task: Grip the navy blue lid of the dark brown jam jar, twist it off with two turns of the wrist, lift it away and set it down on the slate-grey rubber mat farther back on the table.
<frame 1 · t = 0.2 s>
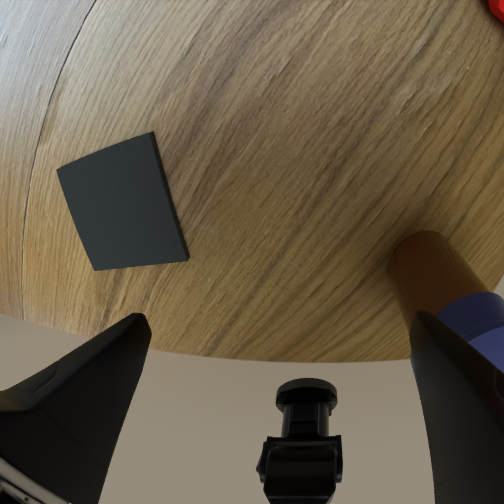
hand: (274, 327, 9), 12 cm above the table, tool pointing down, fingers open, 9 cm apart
mat: (118, 209, 22), on the table
jar lid: (475, 369, 11), point 11 cm above the table, screwed on, not yet turned
jam jar: (421, 266, 20), on the table
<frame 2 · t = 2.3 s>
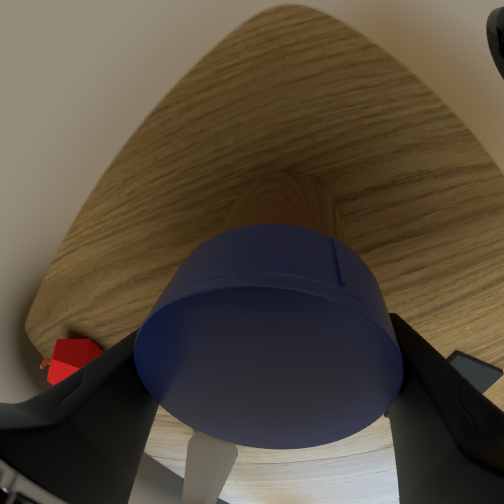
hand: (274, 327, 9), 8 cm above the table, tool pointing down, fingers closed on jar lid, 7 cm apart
mat: (447, 393, 22), on the table
jar lid: (266, 386, 7), point 11 cm above the table, screwed on, not yet turned, touching gripper
jam jar: (286, 223, 16), on the table
apple: (93, 351, 26), on the table
salt shaker: (216, 432, 30), on the table
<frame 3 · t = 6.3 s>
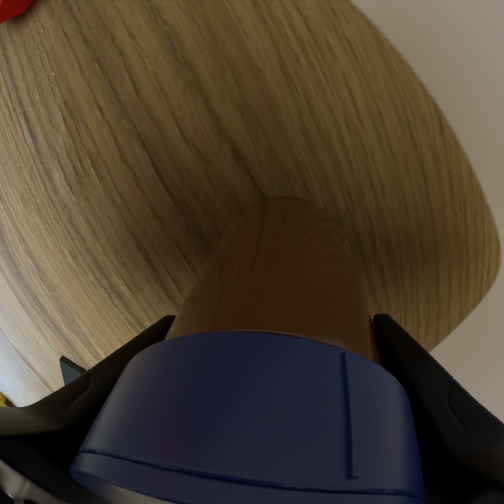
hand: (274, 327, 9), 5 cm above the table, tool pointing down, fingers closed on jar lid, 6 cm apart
mat: (107, 404, 24), on the table
jam jar: (285, 260, 13), on the table
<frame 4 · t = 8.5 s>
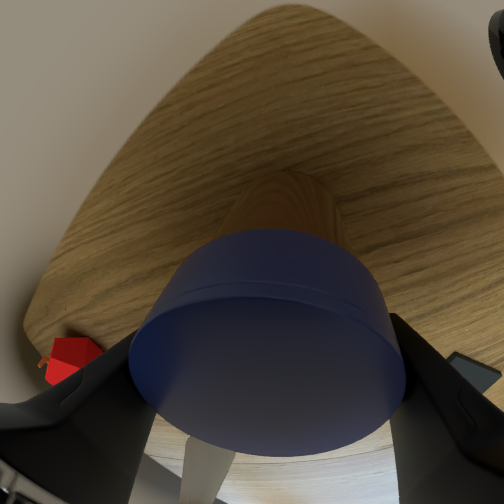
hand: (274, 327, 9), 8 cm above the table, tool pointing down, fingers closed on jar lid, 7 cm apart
mat: (445, 394, 22), on the table
jar lid: (264, 395, 7), point 11 cm above the table, turned 92° so far, risen 0.3 cm, still on its thread, touching gripper
jam jar: (286, 223, 16), on the table
apple: (91, 349, 26), on the table
salt shaker: (214, 432, 30), on the table
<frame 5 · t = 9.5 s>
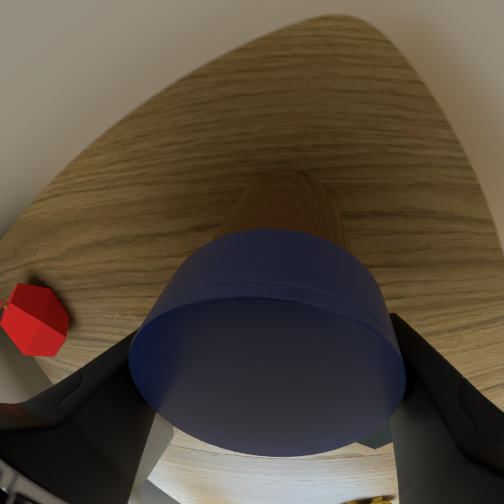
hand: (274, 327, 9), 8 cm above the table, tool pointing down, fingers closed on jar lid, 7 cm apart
teapot: (365, 500, 44), on the table
mat: (389, 419, 24), on the table
jar lid: (264, 395, 7), point 11 cm above the table, turned 107° so far, risen 0.3 cm, still on its thread, touching gripper
jam jar: (286, 223, 16), on the table
apple: (51, 302, 23), on the table
salt shaker: (156, 410, 29), on the table
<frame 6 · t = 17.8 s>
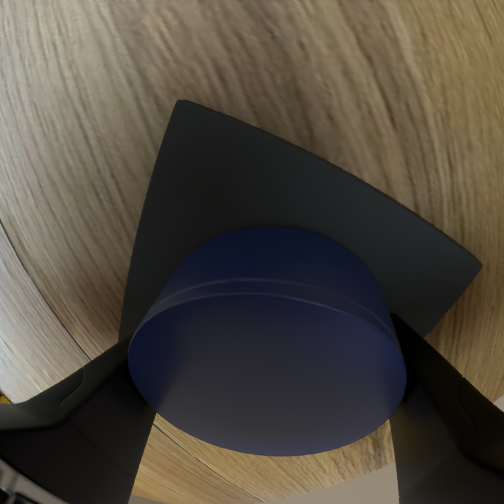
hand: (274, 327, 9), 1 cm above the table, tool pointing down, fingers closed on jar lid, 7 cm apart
mat: (277, 312, 10), on the table
jar lid: (264, 394, 7), point 3 cm above the table, off its thread, touching gripper
when the fingers open (2 cm above the table, at t = 28.8 s): jar lid drops 2 cm, resting on mat.
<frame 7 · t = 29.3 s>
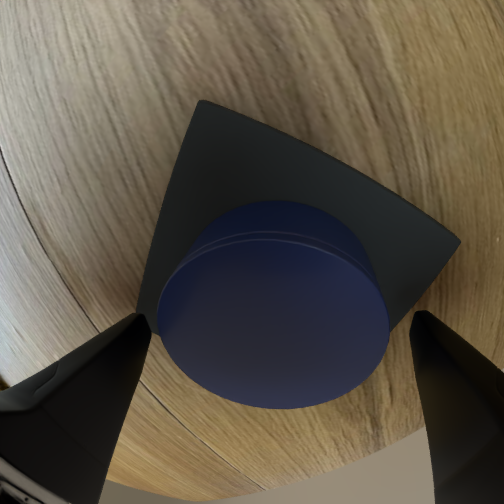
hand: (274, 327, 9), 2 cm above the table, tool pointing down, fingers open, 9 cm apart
mat: (280, 283, 11), on the table
jar lid: (271, 339, 8), point 3 cm above the table, off its thread, touching mat
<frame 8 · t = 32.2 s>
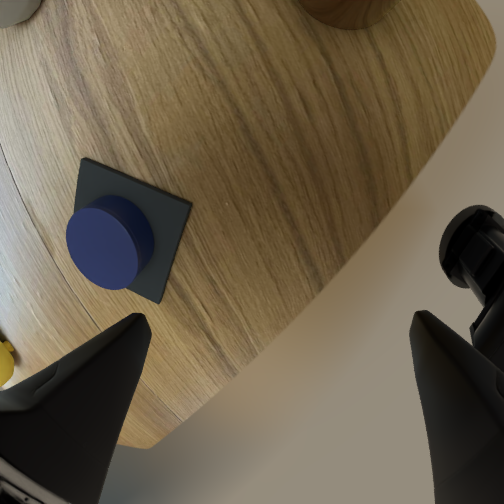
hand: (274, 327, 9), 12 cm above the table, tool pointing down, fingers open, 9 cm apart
mat: (121, 232, 22), on the table
jar lid: (101, 248, 20), point 3 cm above the table, off its thread, touching mat
salt shaker: (31, 2, 12), on the table
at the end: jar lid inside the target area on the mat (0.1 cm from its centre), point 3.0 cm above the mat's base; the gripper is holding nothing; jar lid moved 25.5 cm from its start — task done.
